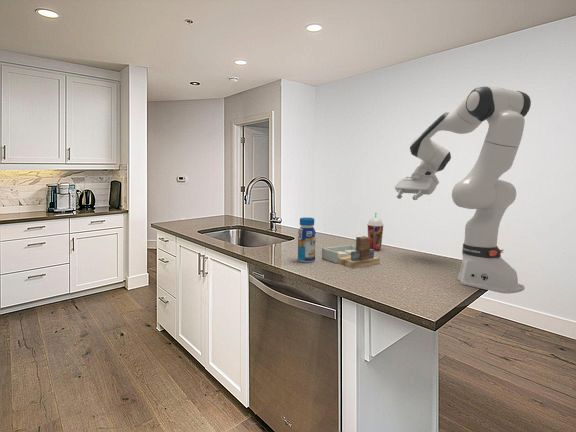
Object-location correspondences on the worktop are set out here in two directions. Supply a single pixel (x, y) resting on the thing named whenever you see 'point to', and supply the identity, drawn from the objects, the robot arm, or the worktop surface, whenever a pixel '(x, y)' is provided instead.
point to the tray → (335, 252)
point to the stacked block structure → (362, 249)
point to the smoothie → (375, 233)
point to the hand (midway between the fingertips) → (406, 198)
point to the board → (358, 262)
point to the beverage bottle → (306, 240)
